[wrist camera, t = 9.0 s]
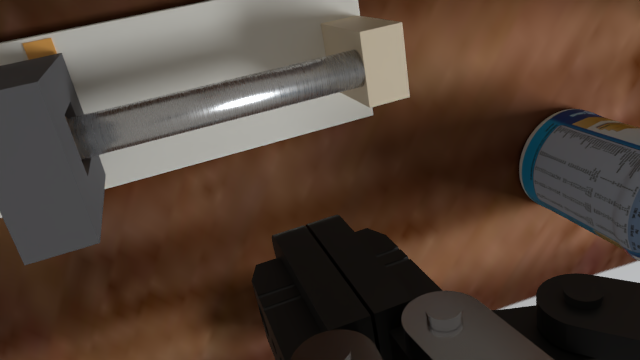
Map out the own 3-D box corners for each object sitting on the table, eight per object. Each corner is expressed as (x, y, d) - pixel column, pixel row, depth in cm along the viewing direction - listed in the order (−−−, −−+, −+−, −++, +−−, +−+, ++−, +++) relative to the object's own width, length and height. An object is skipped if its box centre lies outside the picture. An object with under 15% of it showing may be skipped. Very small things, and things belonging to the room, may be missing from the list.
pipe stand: (347, -28, 33) (400, -30, 27) (367, 111, 36) (417, 138, 30) (-132, 69, 27) (-209, 96, 20) (-52, 226, 30) (-97, 289, 24)
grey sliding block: (61, 52, 28) (37, 81, 20) (105, 174, 31) (99, 242, 23) (-1, 65, 27) (-51, 101, 19) (50, 189, 30) (24, 265, 22)
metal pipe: (376, 37, 30) (394, 41, 28) (381, 78, 31) (399, 84, 29) (-120, 155, 24) (-142, 171, 22) (-95, 200, 25) (-114, 220, 23)
